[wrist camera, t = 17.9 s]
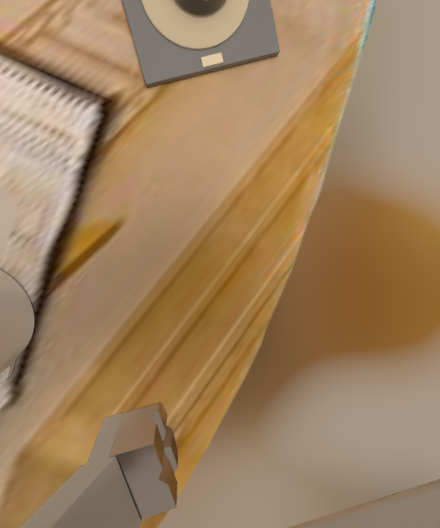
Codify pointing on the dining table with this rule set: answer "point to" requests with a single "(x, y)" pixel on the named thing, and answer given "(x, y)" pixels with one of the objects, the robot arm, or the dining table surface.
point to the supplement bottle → (200, 6)
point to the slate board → (199, 37)
